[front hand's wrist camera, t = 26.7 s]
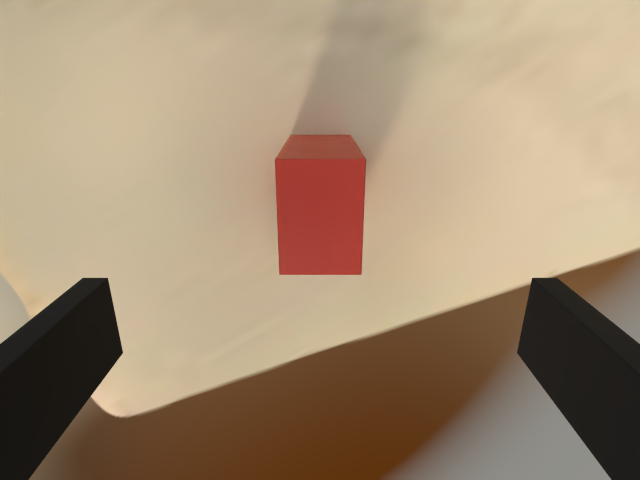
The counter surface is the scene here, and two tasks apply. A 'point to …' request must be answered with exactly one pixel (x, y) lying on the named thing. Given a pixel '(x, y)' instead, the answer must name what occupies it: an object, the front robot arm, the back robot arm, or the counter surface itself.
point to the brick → (320, 205)
